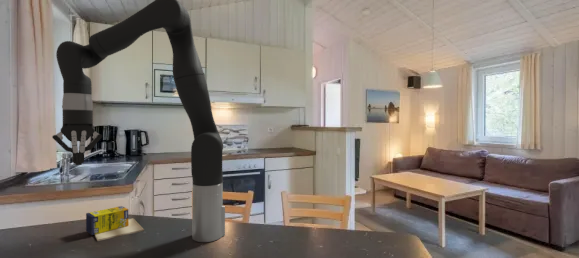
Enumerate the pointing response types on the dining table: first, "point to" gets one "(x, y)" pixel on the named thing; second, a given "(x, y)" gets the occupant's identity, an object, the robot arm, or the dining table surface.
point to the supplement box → (106, 220)
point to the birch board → (120, 231)
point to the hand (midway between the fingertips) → (78, 164)
